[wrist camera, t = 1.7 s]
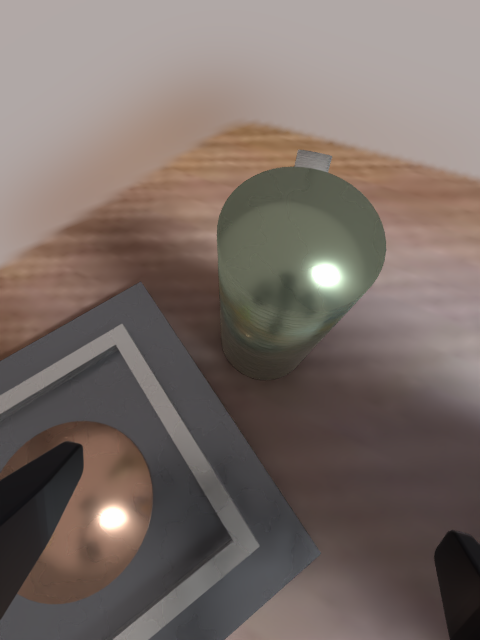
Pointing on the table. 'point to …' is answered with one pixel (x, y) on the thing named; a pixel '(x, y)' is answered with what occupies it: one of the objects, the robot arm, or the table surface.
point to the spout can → (292, 263)
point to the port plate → (141, 488)
